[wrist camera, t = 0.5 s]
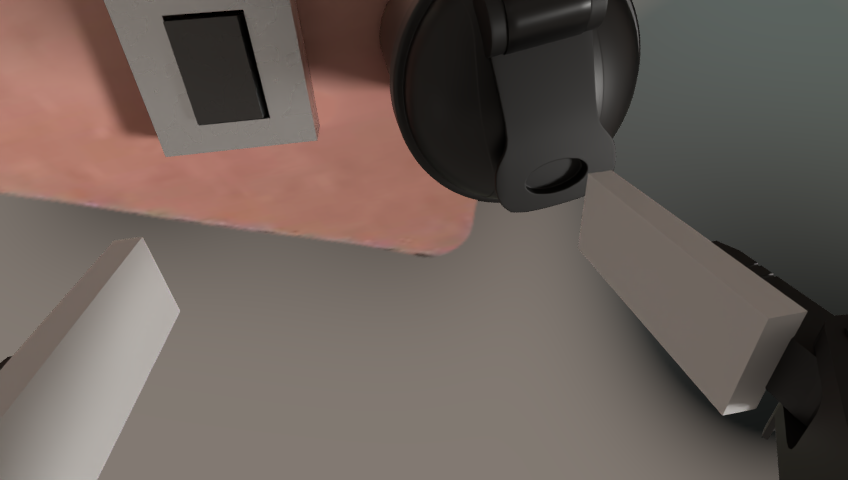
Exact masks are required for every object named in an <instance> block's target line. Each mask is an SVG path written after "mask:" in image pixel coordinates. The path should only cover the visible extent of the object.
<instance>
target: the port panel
mask: <svg viewBox="0 0 848 480" xmlns="http://www.w3.org/2000/svg"><path fill="white" fill-rule="evenodd" d="M104 2H105V5H106V7H107V10H108V12H109V15H110V17H111V20H112V23H113V25H114V28H115V30H116V33H117V35H118V38H119V40H120V43H121V45H122V48H123V50H124V53H125V55H126V58H127V60H128V63H129V65H130V68H131V70H132V73H133V76H134V78H135V81H136V83H137V86H138V88H139V91H140V93H141V96H142V98H143V101H144V103H145V106H146V108H147V111H148V113H149V116H150V118H151V121H152V124H153V126H154V129H155V131H156V134H157V136H158V139H159V141H160V144H161V146H162V149H163V151H164V154H165V156H166V157H170V156H179V155H188V154H197V153H206V152H215V151H225V150H234V149H243V148H252V147H261V146H270V145H279V144H289V143H298V142H307V141H316V140H317V139H318V133H319V127H320V124H319V119H318V114H317V108H316V103H315V98H314V93H313V87H312V82H311V77H310V72H309V66H308V61H307V56H306V51H305V45H304V40H303V35H302V30H301V25H300V19H299V14H298V9H297V4H296V0H104ZM230 10H243V11H244V12H243V13H230V14H217V15H204V16H191V17H184V16H183V14H190V13H203V12H217V11H230Z"/></svg>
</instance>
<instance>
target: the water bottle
mask: <svg viewBox="0 0 848 480" xmlns="http://www.w3.org/2000/svg"><path fill="white" fill-rule="evenodd" d="M380 45H381V50H382V54H383V57H384V60H385V63H386V66H387V69H388V72H389V75H390V94H391V101H392V106H393V110H394V114H395V117H396V120H397V123H398V126H399V128H400V131H401V133H402V136H403V138H404V140H405V143H406V145H407V146H408V148H409V150H410V152H411V153H412V155H413V156H414V158H415V159H416V161H417V162H418V163H419V164H420V166H421V167H422V168H423V169H424V170H425V171H426V172H427V173H428V174H429V175H430V176H431V177H432V178H434V179H435V180H436V181H437V182H439V183H440V184H441V185H443V186H445V187H446V188H448V189H450V190H451V191H453V192H455V193H458V194H460V195H463V196H465V197H468V198H472V199H476V200H478V201H484V202H494V203H501V205H503V207H504V208H506V209H507V210H509V211H510V212H529V211H534V210H539V209H543V208H547V207H550V206H554V205H558V204H562V203H565V202H568V201H571V200H574V199H578V198H580V197H583V196H585V193H586V185H587V178H588V174H589V173H596V172H603V171H610V170H612V171H613V170H614V167H615V162H616V161H615V160H616V148H615V144H614V141H613V137H614V136H615V134H616V133H617V131H618V129H619V128H620V126H621V124H622V122H623V120H624V118H625V116H626V114H627V112H628V109H629V106H630V104H631V101H632V98H633V94H634V91H635V87H636V82H637V77H638V71H639V64H640V32H639V25H638V20H637V15H636V12H635V8H634V5H633V2H632V0H389V2H388V4H387V6H386V8H385V10H384V13H383V16H382V19H381V24H380Z"/></svg>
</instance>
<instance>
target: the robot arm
mask: <svg viewBox="0 0 848 480" xmlns="http://www.w3.org/2000/svg"><path fill="white" fill-rule="evenodd" d="M578 249H579V250H580V251H581V252H582V254H583V255H584V256H585V257H586V258H587V259H588V260H589V262H590V263H591V264H592V265H593V266H594V267H595V269H596V270H597V271H598V272H599V273H600V274H601V275H602V277H603V278H604V279H605V280H606V281H607V282H608V283H609V285H610V286H611V287H612V288H613V289H614V291H615V292H616V293H617V294H618V295H619V296H620V297H621V299H623V301H624V302H625V303H626V304H627V305H628V307H629V308H630V309H631V310H632V311H633V312H634V314H635V315H636V316H637V317H638V318H639V319H640V320H641V322H642V323H643V324H644V325H645V326H646V327H647V329H648V330H649V331H650V332H651V333H652V334H653V336H654V337H655V338H656V339H657V340H658V341H659V342H660V344H661V345H662V346H663V347H664V348H665V349H666V350H667V352H668V353H669V354H670V355H671V356H672V358H673V359H674V360H675V361H676V362H677V363H678V364H679V366H680V367H681V368H682V369H683V370H684V371H685V372H686V374H687V375H688V376H689V377H690V378H691V379H692V381H693V382H695V384H696V385H697V386H698V388H699V389H700V390H701V391H702V392H703V393H704V394H705V395H706V397H707V398H708V399H709V400H710V401H711V402H712V404H713V405H714V406H715V407H716V408H717V409H718V411H719V412H720V413H721V414H722V415H727V414H732V413H737V412H742V411H746V410H752V409H756V407H757V405H758V403H759V401H760V399H761V398H762V396H763V394H764V392H765V390H766V389H767V390H768V391H769V392H770V393H771V394H772V395H773V396H774V397H775V398H776V399H777V400H778V401H779V404H778V405H777V407H776V409H775V411H774V412H773V414H772V416H771V417H770V419H769V421H768V423H767V424H766V426H765V428H764V430H763V433H762V438H765V439H768V438H769V437H770V435H771V433H772V432H773V431H774V430H776V443H777V454H778V455H777V456H778V468H779V480H848V314H846V315H835V316H834V315H833V314H831V313H830V312H828V311H827V310H825V309H824V308H822V307H821V306H820V305H818V304H817V303H815V302H814V301H812V300H811V299H809V298H808V297H806V296H805V295H804V294H802V293H801V292H799V291H798V290H796V289H795V288H793V287H792V286H790V285H789V284H788V283H786V282H785V281H783V280H782V279H780V278H779V277H777V276H776V277H774V276H773V273H771V272H770V271H768V270H767V269H766V268H764V267H763V266H758V263H757V262H756V261H754V260H753V259H751V258H750V257H748V256H747V255H745V254H744V253H743V252H741V251H739V250H737V249H735V248H732V247H730V246H728V245H725V244H723V243H720V242H718V241H712V242H710V241H709V240H708V239H706V238H705V237H704V236H702V235H701V234H700V233H698V232H697V231H695V230H694V229H692V228H691V227H690V226H688V225H687V224H686V223H684V222H683V221H681V220H680V219H679V218H677V217H676V216H674V215H673V214H672V213H670V212H669V211H667V210H666V209H665V208H663V207H662V206H660V205H659V204H658V203H656V202H655V201H653V200H652V199H651V198H649V197H648V196H647V195H645V194H644V193H642V192H641V191H640V190H638V189H637V188H635V187H634V186H633V185H631V184H630V183H628V182H627V181H626V180H624V179H623V178H622V177H620V176H619V175H617V174H616V173H614V172H613V171H612V170H610V171H603V172H596V173H589V174H588V178H587V185H586V193H585V200H584V207H583V214H582V222H581V229H580V236H579V243H578ZM179 312H180V310H179V308H178V306H177V304H176V302H175V300H174V298H173V296H172V294H171V292H170V290H169V288H168V286H167V284H166V282H165V280H164V278H163V276H162V274H161V272H160V270H159V268H158V266H157V264H156V262H155V261H154V258H153V257H152V254H151V252H150V251H149V249H148V247H147V245H146V243H145V241H144V239H143V237H137V238H130V239H123V240H116V241H113V242H112V243H111V244H110V246H109V247H108V248H107V249H106V250H105V251H104V252H103V254H102V255H101V256H100V257H99V258H98V259H97V260H96V262H95V263H94V264H93V265H92V266H91V267H90V268H89V270H88V271H87V272H86V273H85V274H84V275H83V277H81V279H80V280H79V281H78V282H77V283H76V284H75V285H74V287H73V288H72V289H71V290H70V291H69V292H68V293H67V295H66V296H65V297H64V298H63V299H62V300H61V301H60V303H59V304H58V305H57V306H56V307H55V308H54V309H53V311H52V312H51V313H50V314H49V315H48V316H47V317H46V318H45V320H44V321H43V322H42V323H41V324H40V326H38V328H37V329H36V330H35V331H34V332H33V333H32V334H31V336H30V337H29V338H28V339H27V340H26V342H25V343H24V344H23V345H22V346H21V347H20V348H19V349H18V351H17V352H16V353H15V354H14V355H13V356H11V357H7V358H6V359H5V360H3V361H2V362H1V363H0V480H97V479H98V477H99V475H100V473H101V471H102V469H103V467H104V465H105V463H106V461H107V459H108V457H109V455H110V453H111V451H112V449H113V447H114V445H115V443H116V440H117V438H118V436H119V434H120V432H121V430H122V428H123V426H124V424H125V422H126V420H127V418H128V416H129V414H130V412H131V410H132V408H133V406H134V404H135V402H136V400H137V398H138V396H139V394H140V392H141V390H142V388H143V386H144V384H145V382H146V379H147V377H148V375H149V373H150V371H151V369H152V367H153V365H154V363H155V361H156V359H157V357H158V355H159V353H160V351H161V349H162V347H163V345H164V343H165V341H166V339H167V337H168V335H169V333H170V331H171V329H172V327H173V325H174V322H175V321H176V318H177V317H178V314H179Z"/></svg>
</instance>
